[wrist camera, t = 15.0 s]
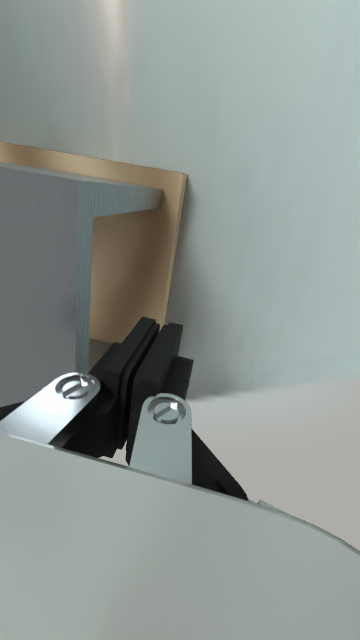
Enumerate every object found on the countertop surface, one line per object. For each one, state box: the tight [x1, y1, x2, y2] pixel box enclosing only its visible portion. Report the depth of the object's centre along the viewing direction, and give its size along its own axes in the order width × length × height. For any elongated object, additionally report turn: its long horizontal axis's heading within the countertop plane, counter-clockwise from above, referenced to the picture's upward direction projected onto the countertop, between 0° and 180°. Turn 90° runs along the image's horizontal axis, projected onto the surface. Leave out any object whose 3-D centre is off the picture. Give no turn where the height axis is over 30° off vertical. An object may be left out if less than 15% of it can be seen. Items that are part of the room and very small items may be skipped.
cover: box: [0, 162, 164, 407], centre depth 15 cm, size 7×12×10 cm, turn 171°
